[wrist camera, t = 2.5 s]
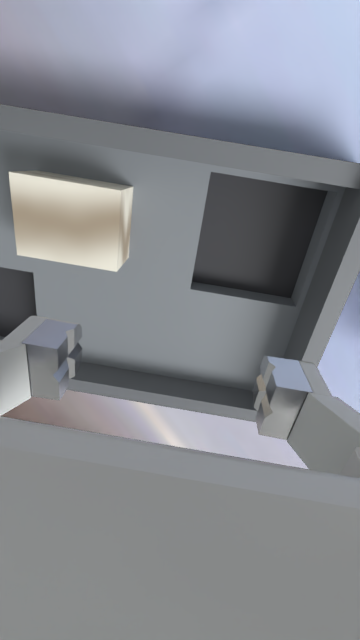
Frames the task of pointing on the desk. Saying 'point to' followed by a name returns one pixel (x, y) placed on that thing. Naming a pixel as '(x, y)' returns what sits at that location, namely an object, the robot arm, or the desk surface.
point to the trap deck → (187, 259)
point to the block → (71, 219)
